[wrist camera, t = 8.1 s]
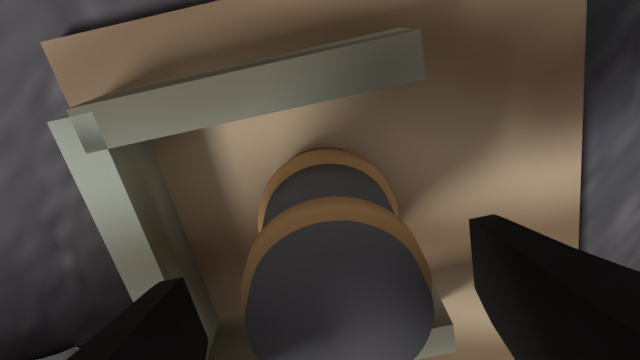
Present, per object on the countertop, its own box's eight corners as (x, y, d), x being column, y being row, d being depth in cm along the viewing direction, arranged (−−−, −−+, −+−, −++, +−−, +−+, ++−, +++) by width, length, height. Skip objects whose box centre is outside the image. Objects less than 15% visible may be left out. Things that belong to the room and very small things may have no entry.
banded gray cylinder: (399, 239, 15) (457, 373, 9) (284, 269, 15) (272, 415, 9) (373, 125, 13) (423, 205, 8) (245, 161, 13) (202, 263, 8)
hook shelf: (562, 368, 19) (614, 437, 15) (225, 430, 19) (211, 508, 16) (571, -81, 12) (664, -115, 9) (55, 40, 13) (-24, 48, 10)
